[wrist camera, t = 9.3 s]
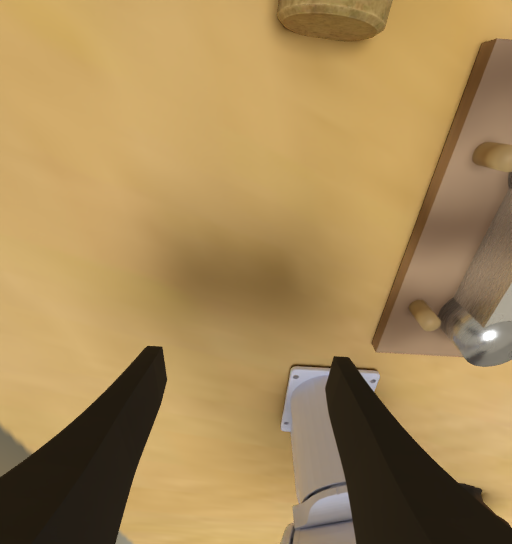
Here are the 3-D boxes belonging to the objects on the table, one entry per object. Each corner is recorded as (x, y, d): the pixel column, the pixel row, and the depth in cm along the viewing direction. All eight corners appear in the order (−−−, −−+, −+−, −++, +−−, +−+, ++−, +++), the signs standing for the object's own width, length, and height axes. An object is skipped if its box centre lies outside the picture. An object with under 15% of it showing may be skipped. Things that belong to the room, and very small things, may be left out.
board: (499, 350, 24) (528, 379, 21) (371, 343, 24) (385, 372, 21) (699, 59, 14) (800, 48, 11) (482, 43, 14) (533, 27, 11)
